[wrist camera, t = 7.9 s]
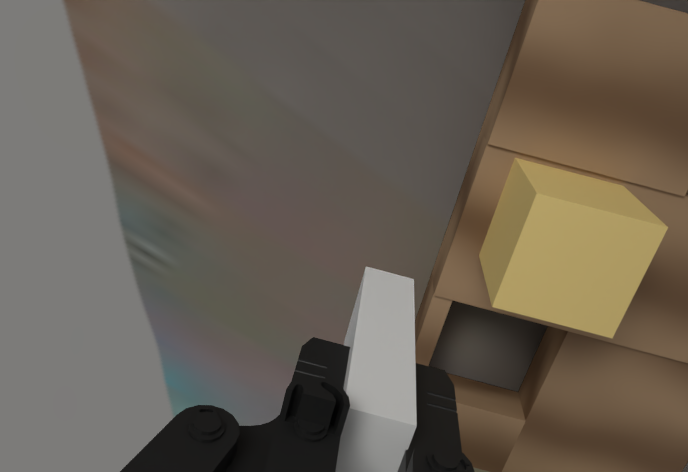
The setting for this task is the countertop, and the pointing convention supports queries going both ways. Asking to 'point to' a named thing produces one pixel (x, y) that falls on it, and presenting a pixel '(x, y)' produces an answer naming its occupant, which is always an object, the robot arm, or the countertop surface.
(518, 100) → the trap deck
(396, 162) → the countertop surface
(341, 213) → the countertop surface
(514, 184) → the cube
